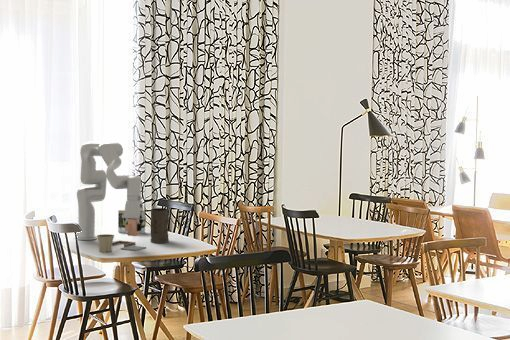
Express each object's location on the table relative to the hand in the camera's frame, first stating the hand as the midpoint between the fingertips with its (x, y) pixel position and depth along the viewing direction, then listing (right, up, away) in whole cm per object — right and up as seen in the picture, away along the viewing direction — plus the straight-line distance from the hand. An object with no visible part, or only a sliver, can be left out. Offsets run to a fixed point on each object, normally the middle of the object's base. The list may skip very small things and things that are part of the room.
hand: (133, 230), depth 355 cm
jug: (-1, -3, -2) cm, 3 cm away
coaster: (0, -10, +1) cm, 10 cm away
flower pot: (-14, -11, -8) cm, 19 cm away
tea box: (-13, -7, +59) cm, 61 cm away
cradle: (-9, -10, +11) cm, 17 cm away
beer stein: (+11, -10, +26) cm, 30 cm away
